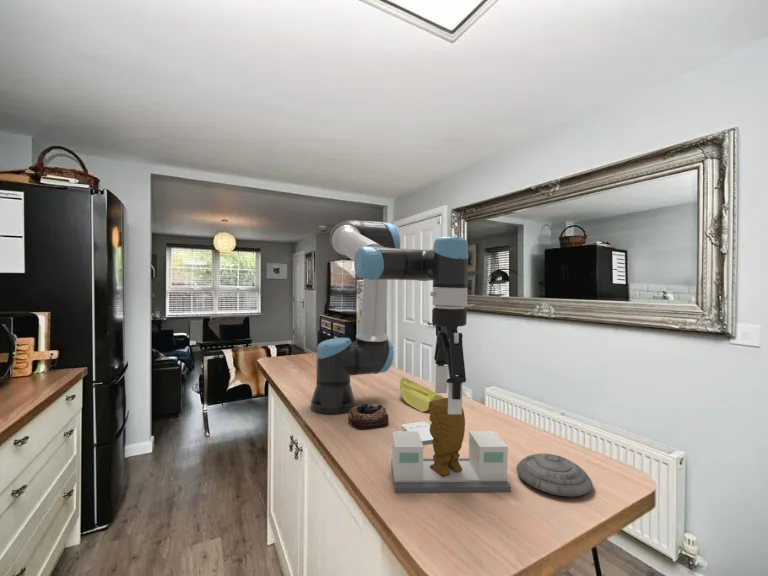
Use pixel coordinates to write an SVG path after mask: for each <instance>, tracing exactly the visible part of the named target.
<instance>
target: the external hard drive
mask: <svg viewBox="0 0 768 576" xmlns="http://www.w3.org/2000/svg"><path fill="white" fill-rule="evenodd" d="M430 425H431V424H429V423H428V422H426V421H415V422H408V423H403V424H401V425H400V429H402V431H418V432H419V435H420V438H421V441H422V444H423V446H425V445H431V444H433V437H432V436H431V434H430Z"/></svg>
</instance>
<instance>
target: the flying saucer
mask: <svg viewBox="0 0 768 576" xmlns="http://www.w3.org/2000/svg"><path fill="white" fill-rule="evenodd" d="M515 470H516V472H517V474H518V476H519V477H520V479H522V480H523V481H524V482H525V483H527V484H528V485H529V486H531V487H533V488H535V489H537V490H539V491H542V492H544V493H548V494H551V495H555V496H559V497H560V496H562V497H579V496H583V495H586V494H589V493H590V492H591V491H592V489H593V487H594V486H593V485H594V484H593V481H592V479H591V478H590V476H589V475H588V473H587V472H586V471H585V470H584V469H583V468H582V467H580V466H579V465H578V464H576V463H575V462H574V461H571V459H568V458H565V457H563V456H560V455H556V454H552V453H541V452H540V453H534V454H530V455H528V456H525V457H524V458H522V459H521V460H520V461H519V462H518V463H517V465H516V469H515Z"/></svg>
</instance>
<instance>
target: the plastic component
mask: <svg viewBox="0 0 768 576" xmlns="http://www.w3.org/2000/svg"><path fill="white" fill-rule="evenodd" d="M399 381H400V382H399V389H400V390H399V391H400V395H401V398H402V400H403V401H404V402H405V403H406V404H407V405H409V406H410V407H413V408H414V409H416V410H417V411H419V412H420V413H421V412H422V413H425V412H429V402H430V401H433V400H439V399H443V398H446V397H444V396H442V395H440V393H436V392H434V391H433V390H431V389H429V388H427V387H425V386H423V385H421V384H419V383H417V382H414V381H412V380H410V379H409V378H405V377H401V378H400V380H399Z"/></svg>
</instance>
